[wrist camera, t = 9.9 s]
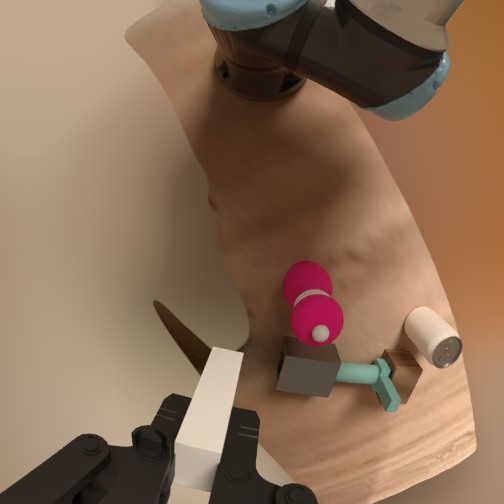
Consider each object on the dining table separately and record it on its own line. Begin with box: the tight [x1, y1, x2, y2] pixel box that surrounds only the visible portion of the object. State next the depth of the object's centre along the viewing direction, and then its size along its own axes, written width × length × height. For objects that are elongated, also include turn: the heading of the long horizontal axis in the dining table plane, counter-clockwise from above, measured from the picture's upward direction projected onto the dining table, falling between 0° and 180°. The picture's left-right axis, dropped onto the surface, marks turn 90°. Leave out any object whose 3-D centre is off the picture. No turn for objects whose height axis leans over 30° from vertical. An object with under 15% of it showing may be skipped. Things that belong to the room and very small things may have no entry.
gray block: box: [276, 336, 341, 397], centre depth 48 cm, size 7×9×7 cm
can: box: [404, 307, 462, 368], centre depth 43 cm, size 6×6×12 cm
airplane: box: [335, 358, 401, 412], centre depth 44 cm, size 16×5×11 cm, turn 79°
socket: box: [376, 349, 423, 404], centre depth 47 cm, size 8×6×7 cm
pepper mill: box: [283, 261, 343, 347], centre depth 39 cm, size 7×7×20 cm
